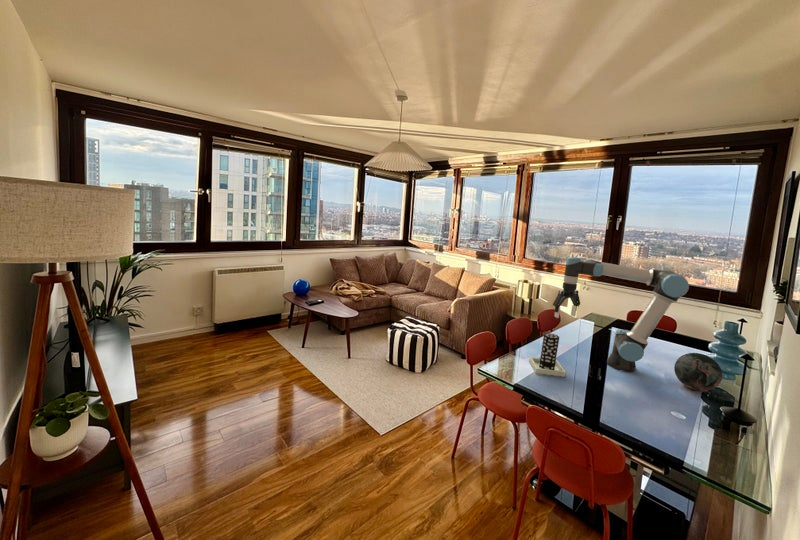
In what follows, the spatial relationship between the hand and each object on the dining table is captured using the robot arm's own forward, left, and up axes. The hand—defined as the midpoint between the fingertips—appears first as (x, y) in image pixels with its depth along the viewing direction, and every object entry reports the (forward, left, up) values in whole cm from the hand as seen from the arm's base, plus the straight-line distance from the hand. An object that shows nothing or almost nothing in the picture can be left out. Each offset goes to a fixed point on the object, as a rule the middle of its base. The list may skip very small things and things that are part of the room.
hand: (564, 316), depth 212 cm
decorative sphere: (-67, +17, -29) cm, 75 cm away
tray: (+11, +15, -29) cm, 34 cm away
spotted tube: (+11, +15, -28) cm, 34 cm away
